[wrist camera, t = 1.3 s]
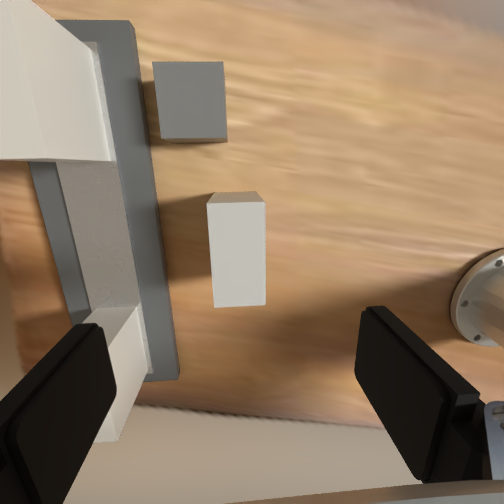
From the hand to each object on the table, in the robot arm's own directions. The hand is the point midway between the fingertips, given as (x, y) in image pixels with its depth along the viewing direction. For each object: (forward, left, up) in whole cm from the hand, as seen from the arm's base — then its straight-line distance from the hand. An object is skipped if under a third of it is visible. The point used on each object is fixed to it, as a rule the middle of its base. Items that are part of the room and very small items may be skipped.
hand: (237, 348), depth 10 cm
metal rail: (+12, 0, -17) cm, 21 cm away
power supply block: (+3, -11, -18) cm, 21 cm away
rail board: (+12, 0, -18) cm, 22 cm away
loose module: (0, 0, -18) cm, 18 cm away
